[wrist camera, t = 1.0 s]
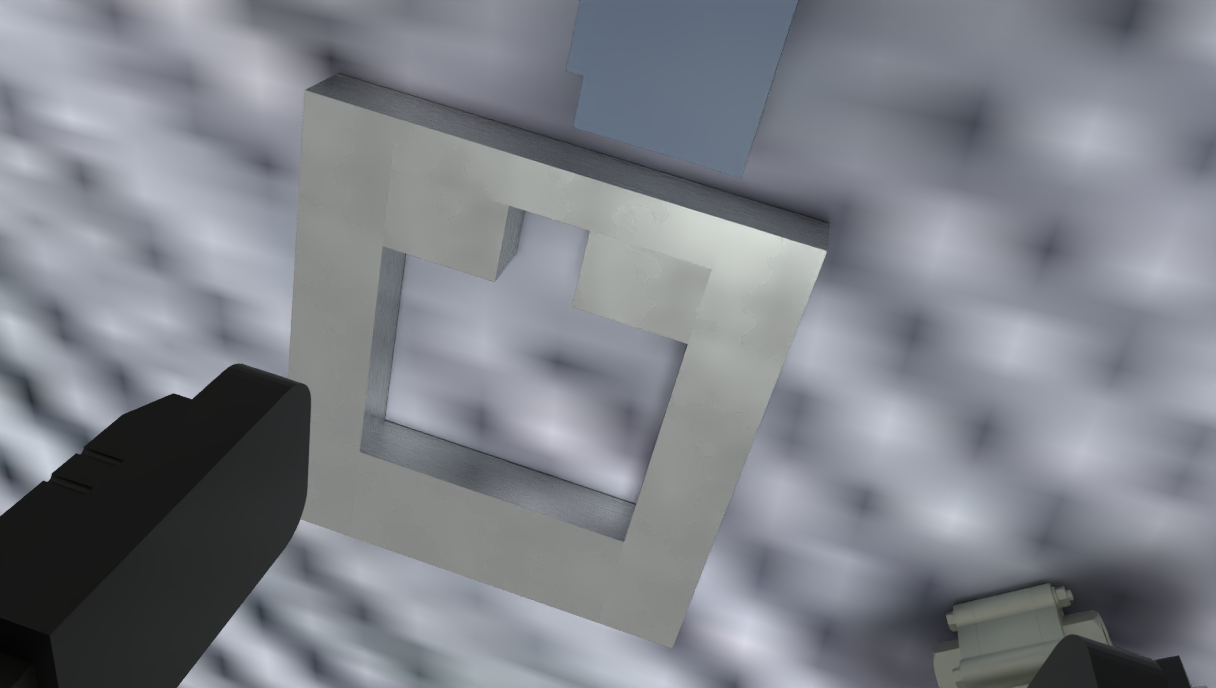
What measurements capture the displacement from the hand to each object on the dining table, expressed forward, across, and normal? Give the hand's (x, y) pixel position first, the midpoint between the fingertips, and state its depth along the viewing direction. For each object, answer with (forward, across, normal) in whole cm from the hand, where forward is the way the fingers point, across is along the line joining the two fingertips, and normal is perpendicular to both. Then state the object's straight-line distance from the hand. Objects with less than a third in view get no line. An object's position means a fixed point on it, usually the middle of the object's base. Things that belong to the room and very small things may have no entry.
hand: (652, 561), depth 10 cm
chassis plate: (+18, +5, +11) cm, 22 cm away
